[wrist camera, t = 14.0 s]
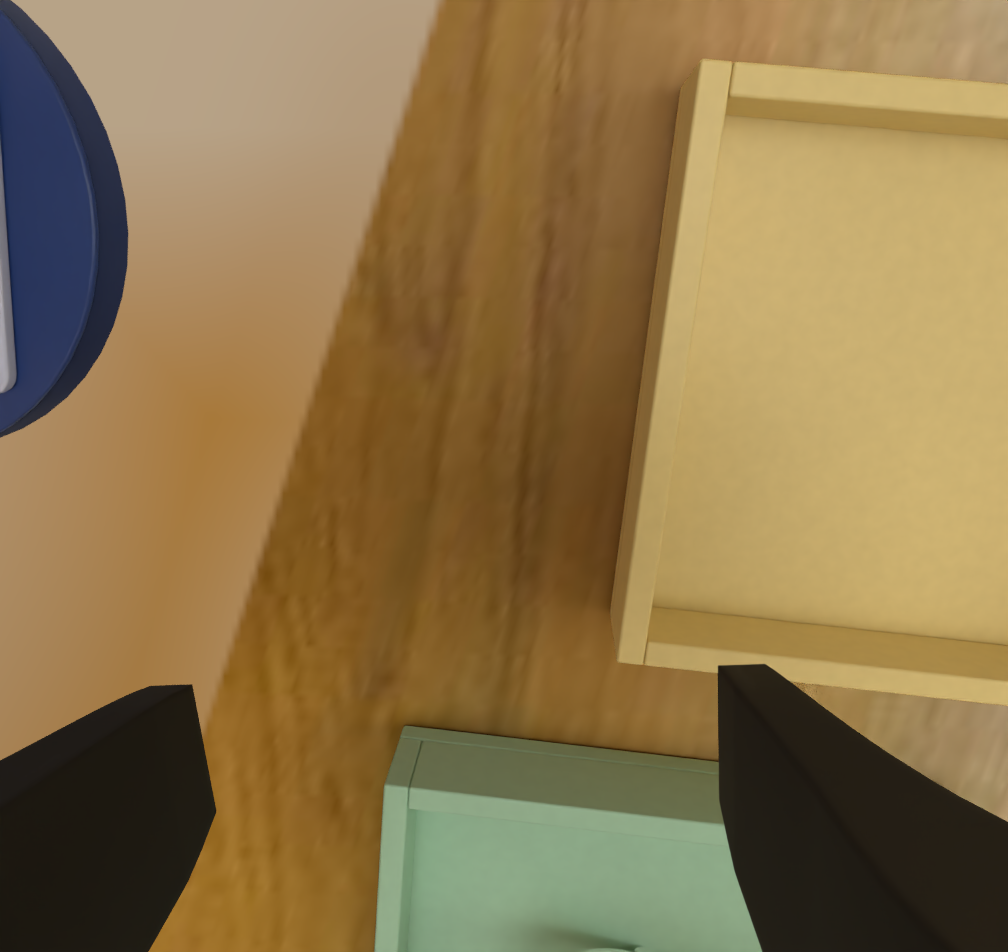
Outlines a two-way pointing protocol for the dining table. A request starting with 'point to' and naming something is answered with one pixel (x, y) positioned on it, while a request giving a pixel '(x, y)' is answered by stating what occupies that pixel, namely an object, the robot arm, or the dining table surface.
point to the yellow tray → (826, 387)
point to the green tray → (553, 850)
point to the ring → (607, 951)
